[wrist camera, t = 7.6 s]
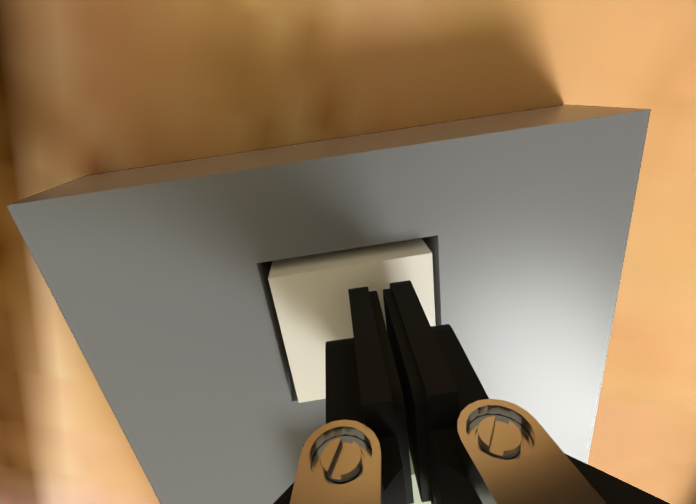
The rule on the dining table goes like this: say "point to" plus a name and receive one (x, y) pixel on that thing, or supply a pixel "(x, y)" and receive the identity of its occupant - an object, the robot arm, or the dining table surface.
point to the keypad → (327, 236)
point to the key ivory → (339, 299)
